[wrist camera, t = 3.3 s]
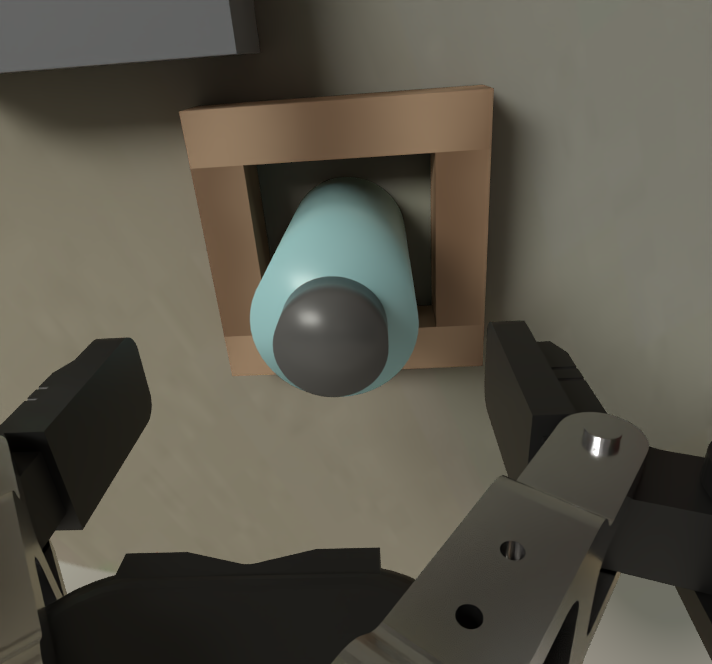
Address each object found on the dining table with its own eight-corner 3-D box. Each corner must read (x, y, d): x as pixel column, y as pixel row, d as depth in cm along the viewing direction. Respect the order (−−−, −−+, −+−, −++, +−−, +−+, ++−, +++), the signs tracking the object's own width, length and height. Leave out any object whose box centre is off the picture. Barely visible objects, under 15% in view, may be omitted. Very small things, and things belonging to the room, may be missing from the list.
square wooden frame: (483, 84, 19) (493, 88, 17) (474, 341, 23) (482, 365, 22) (196, 105, 19) (178, 111, 18) (243, 351, 24) (232, 375, 22)
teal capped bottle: (403, 173, 20) (420, 257, 12) (406, 283, 22) (423, 419, 14) (285, 180, 21) (224, 267, 12) (299, 289, 23) (254, 425, 14)
